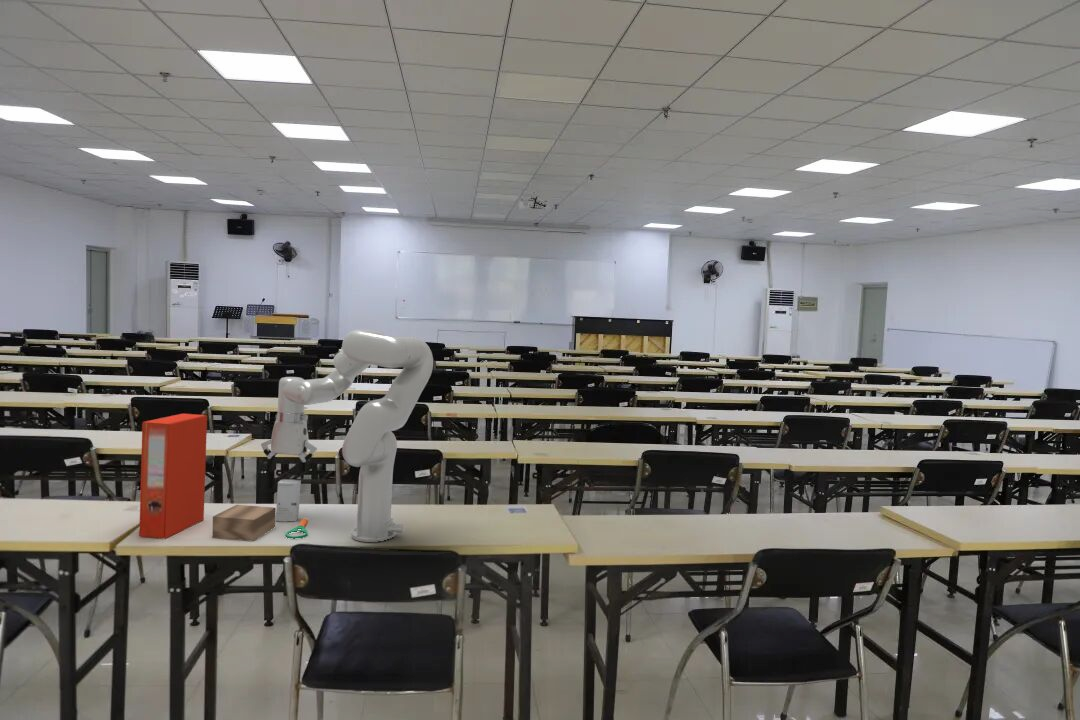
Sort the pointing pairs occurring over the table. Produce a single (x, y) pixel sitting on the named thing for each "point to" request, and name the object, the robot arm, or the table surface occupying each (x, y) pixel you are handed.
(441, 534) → the table surface
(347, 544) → the table surface
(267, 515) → the walnut block
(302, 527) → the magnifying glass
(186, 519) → the file binder
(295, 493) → the skincare box
